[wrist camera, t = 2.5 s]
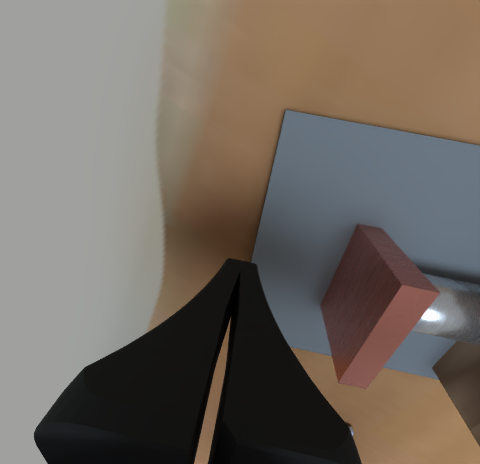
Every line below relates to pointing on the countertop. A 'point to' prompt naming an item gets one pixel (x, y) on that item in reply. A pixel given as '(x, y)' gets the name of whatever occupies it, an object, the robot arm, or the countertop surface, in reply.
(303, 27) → the countertop surface
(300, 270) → the mat
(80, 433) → the robot arm
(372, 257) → the pin
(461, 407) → the block
